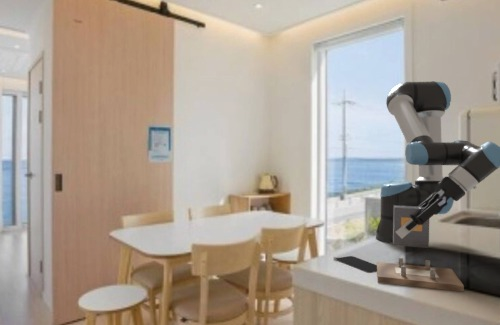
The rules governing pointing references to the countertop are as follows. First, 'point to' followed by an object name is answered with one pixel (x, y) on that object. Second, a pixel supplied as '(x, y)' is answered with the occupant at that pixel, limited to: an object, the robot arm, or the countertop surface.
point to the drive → (417, 235)
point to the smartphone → (358, 264)
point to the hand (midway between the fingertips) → (397, 233)
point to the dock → (418, 276)
